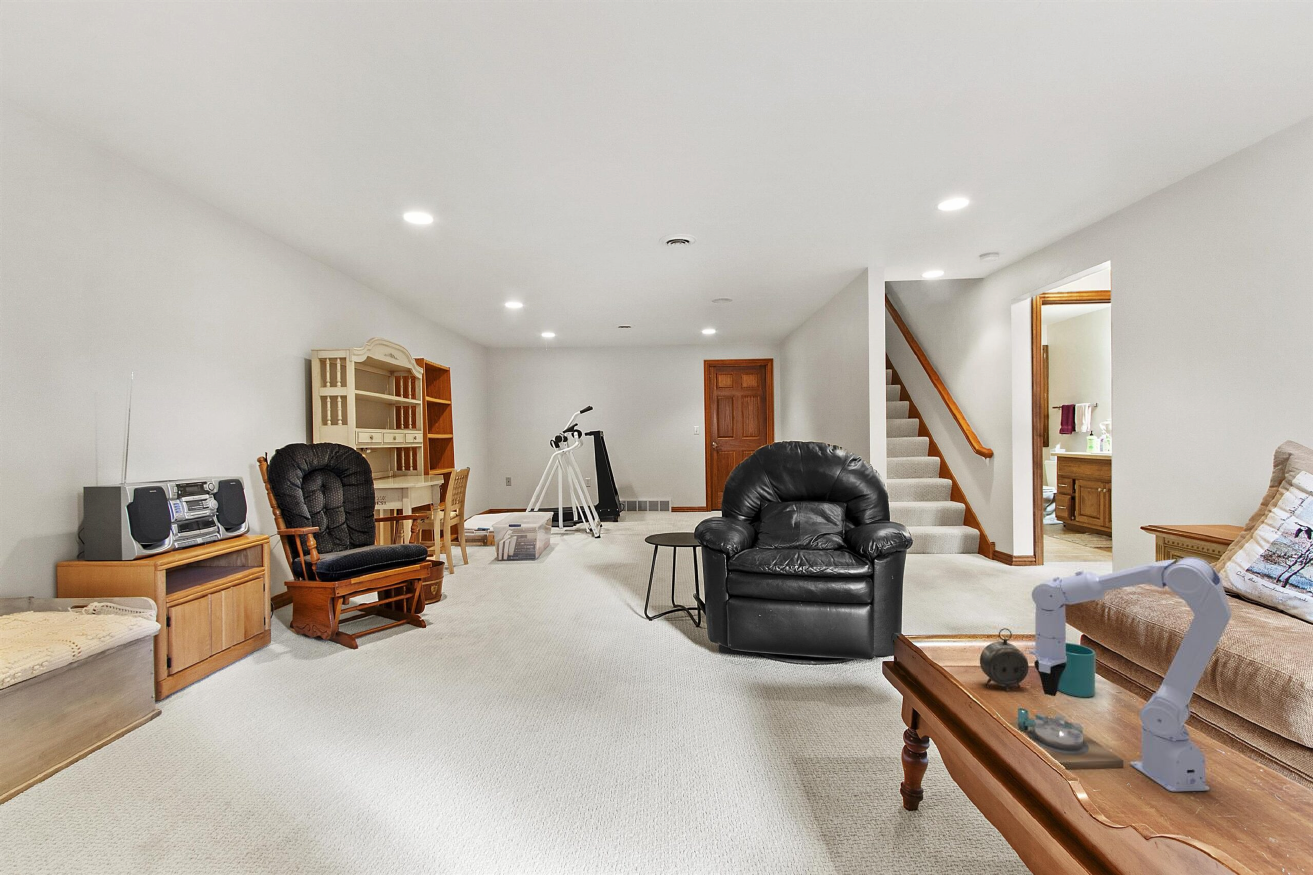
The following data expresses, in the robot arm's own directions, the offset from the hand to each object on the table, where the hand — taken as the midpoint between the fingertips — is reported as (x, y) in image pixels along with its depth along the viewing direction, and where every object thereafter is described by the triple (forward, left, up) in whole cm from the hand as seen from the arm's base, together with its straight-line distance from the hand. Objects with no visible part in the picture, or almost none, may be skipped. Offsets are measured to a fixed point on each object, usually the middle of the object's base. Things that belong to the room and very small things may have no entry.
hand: (1050, 694), depth 133 cm
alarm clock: (+24, -5, -10) cm, 26 cm away
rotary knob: (-4, +3, -7) cm, 9 cm away
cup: (+22, -21, -10) cm, 32 cm away
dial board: (-5, +2, -9) cm, 11 cm away
